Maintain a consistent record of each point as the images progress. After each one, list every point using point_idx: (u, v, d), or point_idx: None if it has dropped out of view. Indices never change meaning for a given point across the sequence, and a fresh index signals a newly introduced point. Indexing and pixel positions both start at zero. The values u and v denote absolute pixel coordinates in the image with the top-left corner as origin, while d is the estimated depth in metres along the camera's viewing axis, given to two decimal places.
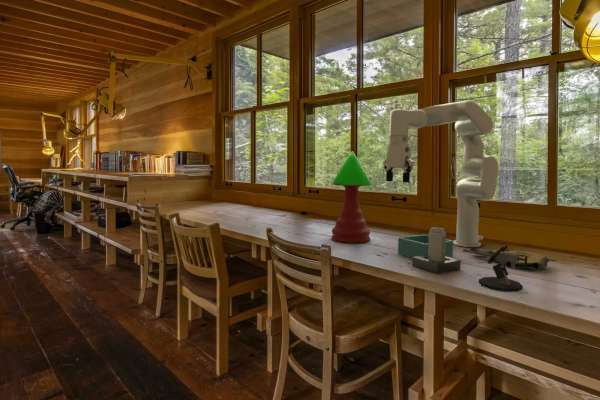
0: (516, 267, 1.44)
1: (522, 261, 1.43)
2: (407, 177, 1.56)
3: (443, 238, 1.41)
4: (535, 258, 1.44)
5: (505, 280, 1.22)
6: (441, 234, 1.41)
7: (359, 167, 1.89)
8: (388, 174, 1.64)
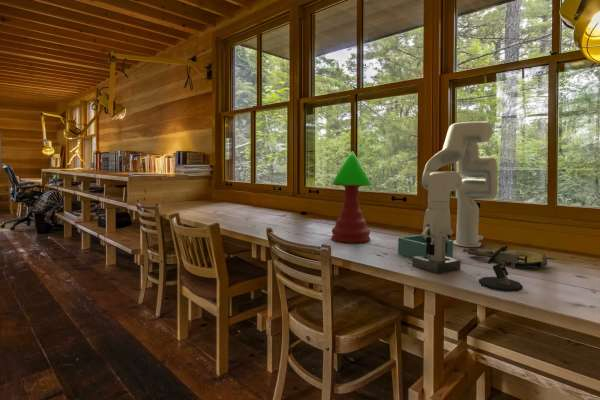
0: (520, 267, 1.44)
1: None
2: None
3: (443, 238, 1.41)
4: (536, 257, 1.45)
5: (505, 280, 1.22)
6: (441, 234, 1.41)
7: (359, 167, 1.89)
8: None
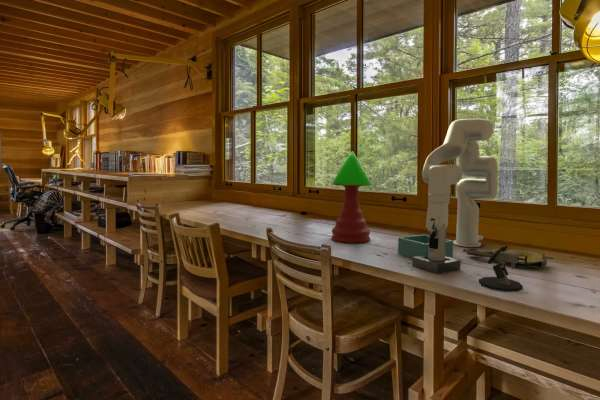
0: (521, 267, 1.44)
1: None
2: None
3: (445, 231, 1.42)
4: (536, 256, 1.46)
5: (505, 280, 1.22)
6: (444, 227, 1.41)
7: (359, 167, 1.89)
8: None
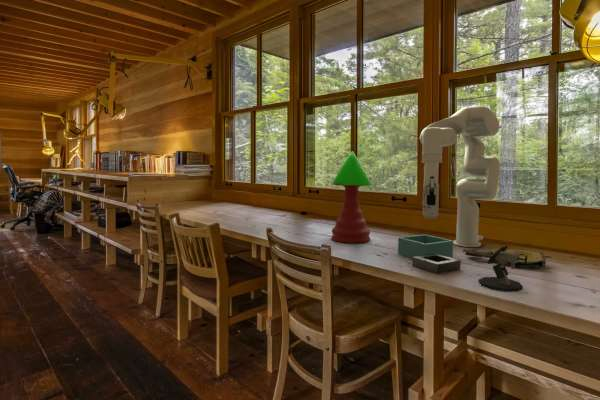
0: (523, 267, 1.44)
1: (528, 260, 1.44)
2: None
3: (438, 188, 1.54)
4: (536, 256, 1.47)
5: (505, 280, 1.22)
6: (438, 184, 1.53)
7: (359, 167, 1.89)
8: None
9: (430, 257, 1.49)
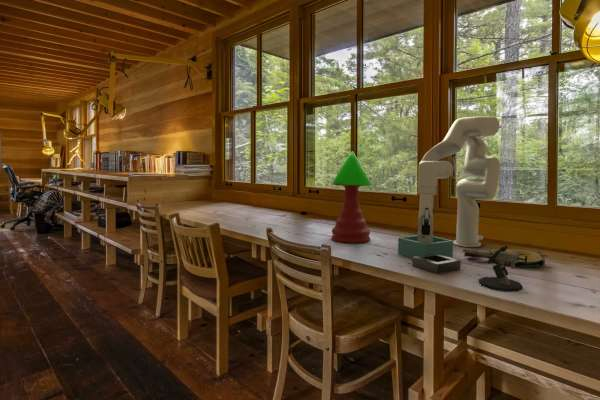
0: (525, 266, 1.45)
1: (530, 260, 1.44)
2: None
3: (433, 218, 1.62)
4: (535, 255, 1.48)
5: (505, 280, 1.22)
6: (433, 215, 1.61)
7: (359, 167, 1.89)
8: None
9: (430, 257, 1.49)
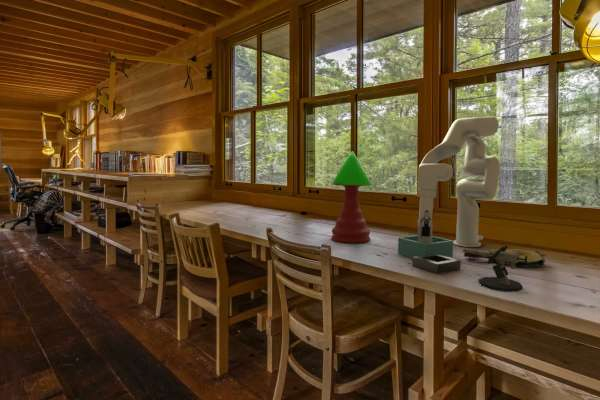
0: (525, 266, 1.45)
1: (530, 260, 1.45)
2: None
3: (432, 225, 1.62)
4: (535, 255, 1.49)
5: (505, 280, 1.22)
6: None
7: (359, 167, 1.89)
8: None
9: (430, 257, 1.49)
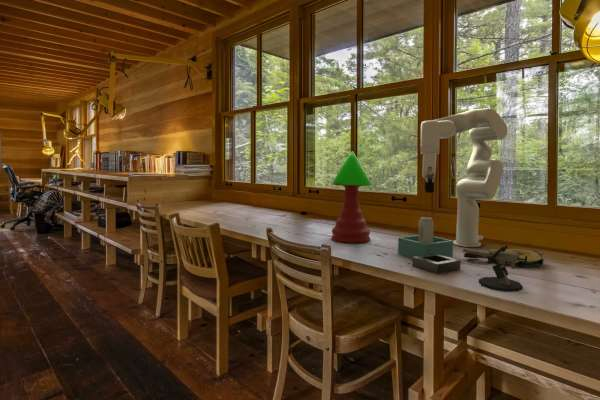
0: (526, 266, 1.45)
1: (531, 259, 1.45)
2: None
3: (433, 226, 1.62)
4: (534, 254, 1.49)
5: (505, 280, 1.22)
6: (433, 222, 1.61)
7: (359, 167, 1.89)
8: None
9: (430, 257, 1.49)
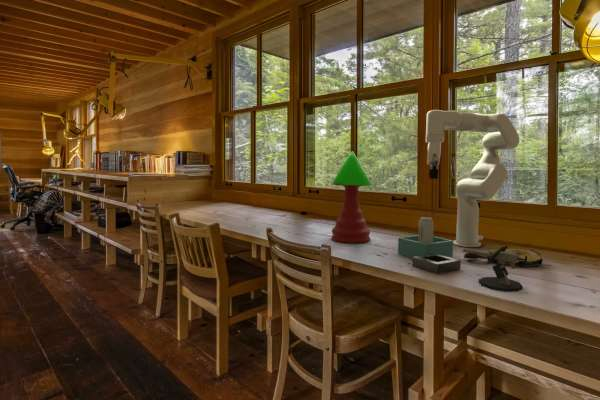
0: (527, 266, 1.46)
1: (532, 259, 1.46)
2: None
3: None
4: (533, 254, 1.50)
5: (505, 280, 1.22)
6: (433, 222, 1.61)
7: (359, 167, 1.89)
8: None
9: (430, 257, 1.49)
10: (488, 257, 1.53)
